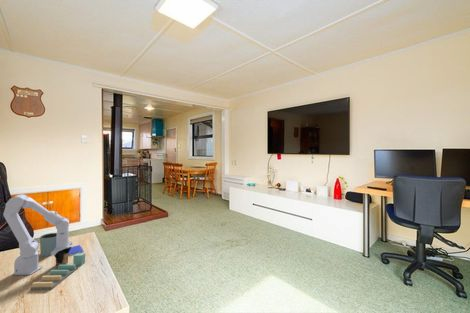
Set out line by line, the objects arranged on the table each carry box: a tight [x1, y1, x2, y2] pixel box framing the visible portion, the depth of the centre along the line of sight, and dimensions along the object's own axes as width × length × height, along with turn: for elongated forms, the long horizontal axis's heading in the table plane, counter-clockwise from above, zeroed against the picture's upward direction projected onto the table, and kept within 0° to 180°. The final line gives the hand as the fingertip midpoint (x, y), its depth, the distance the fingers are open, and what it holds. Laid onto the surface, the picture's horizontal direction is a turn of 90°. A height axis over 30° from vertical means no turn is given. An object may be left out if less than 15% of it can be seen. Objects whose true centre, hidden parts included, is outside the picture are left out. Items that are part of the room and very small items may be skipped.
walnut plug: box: [55, 253, 69, 266], centre depth 126 cm, size 5×3×6 cm, turn 94°
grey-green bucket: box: [39, 232, 57, 257], centre depth 140 cm, size 10×10×12 cm
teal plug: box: [72, 252, 86, 266], centre depth 127 cm, size 5×3×6 cm, turn 94°
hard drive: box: [68, 244, 85, 257], centre depth 144 cm, size 2×8×12 cm
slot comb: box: [30, 263, 78, 291], centre depth 112 cm, size 10×18×3 cm, turn 4°
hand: (61, 261), depth 126 cm, fingers closed on walnut plug, 3 cm apart
